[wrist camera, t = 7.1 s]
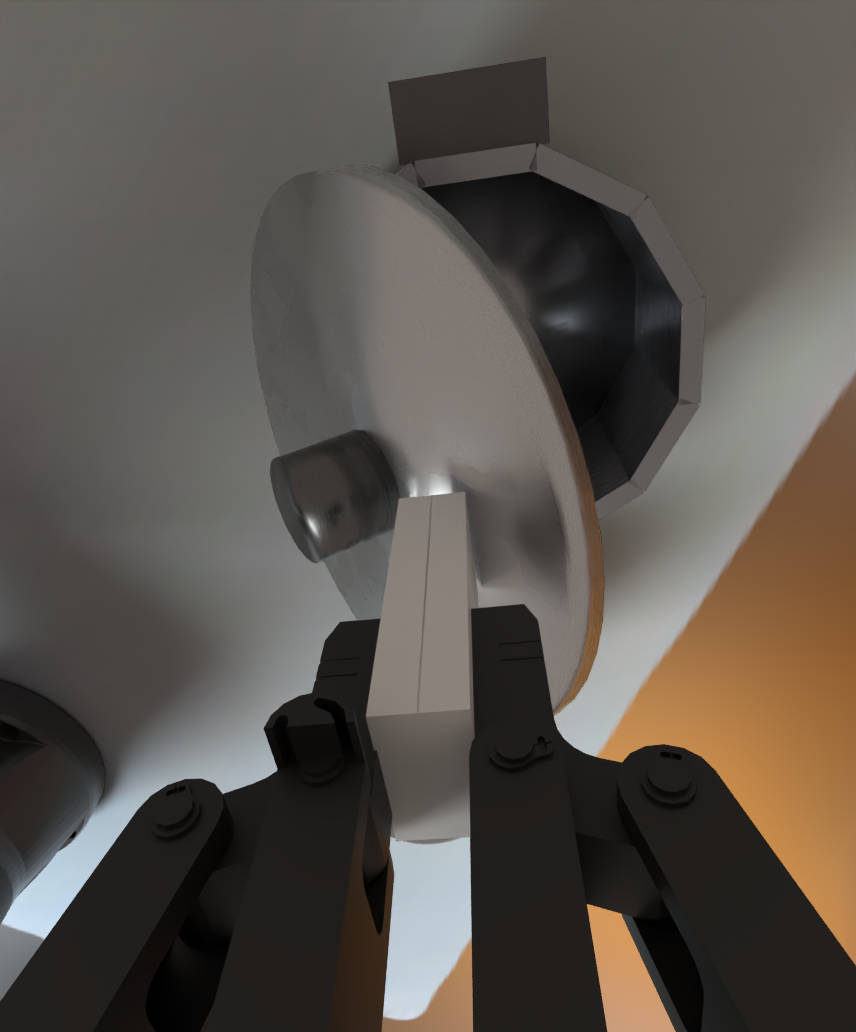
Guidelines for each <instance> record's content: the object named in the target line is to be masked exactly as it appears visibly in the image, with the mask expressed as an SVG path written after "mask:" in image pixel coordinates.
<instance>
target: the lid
mask: <svg viewBox="0 0 856 1032" xmlns="http://www.w3.org/2000/svg"><path fill="white" fill-rule="evenodd" d="M251 313H252V325H253V337H254V344H255V351H256V358H257V365H258V370H259V375H260V380H261V385H262V390H263V395H264V399H265V403H266V407H267V411H268V416H269V419H270V423H271V426H272V430H273V433H274V437H275V440H276V444H277V447H278V450H279V453H280V457H277V458H274V459H273V460H272V462H271V466H270V475H271V482H272V487H273V491H274V495H275V499H276V502H277V505H278V508H279V510H280V513H281V515H282V518H283V520H284V522H285V525H286V527H287V529H288V531H289V533H290V534H291V536H292V538H293V540H294V542H295V543H296V545H297V546H298V548H299V549H300V550H301V552H302V553H303V554H304V555H305V556H306V557H307V558H308V559H309V560H310V561H312V562H314V563H318V562H321V561H324V563H325V565H326V567H327V568H328V570H329V572H330V574H331V576H332V578H333V580H334V581H335V583H336V585H337V587H338V589H339V591H340V592H341V594H342V596H343V597H344V599H345V601H346V602H347V604H348V606H349V607H350V609H351V611H352V612H353V614H354V615H355V617H356V618H357V620H369V619H380V618H381V613H382V606H383V600H384V593H385V587H386V580H387V574H388V567H389V560H390V554H391V547H392V541H393V534H394V527H395V521H396V514H397V508H398V501H399V499H400V498H409V497H419V496H428V495H438V494H447V493H457V492H465V494H466V502H467V510H468V518H469V526H470V534H471V542H472V550H473V558H474V566H475V574H476V581H477V589H478V606H479V608H484V607H496V606H507V605H518V604H525V606H526V607H527V608H528V609H529V610H530V611H531V613H532V614H533V615H534V616H535V617H536V618H537V619H538V622H539V629H540V635H541V642H542V647H543V654H544V660H545V666H546V672H547V678H548V685H549V691H550V697H551V703H552V710H553V716H554V715H556V714H557V713H559V712H560V711H561V710H563V709H564V708H565V707H566V706H567V705H568V704H569V703H571V702H572V701H573V700H574V699H575V698H576V696H577V694H578V693H579V691H580V690H581V688H582V687H583V685H584V684H585V682H586V681H587V679H588V676H589V673H590V671H591V668H592V665H593V663H594V660H595V657H596V655H597V650H598V645H599V639H600V634H601V628H602V623H603V606H604V582H605V581H604V568H603V555H602V541H601V533H600V527H599V522H598V516H597V510H596V505H595V499H594V493H593V488H592V484H591V480H590V477H589V473H588V469H587V466H586V462H585V458H584V454H583V451H582V447H581V443H580V440H579V436H578V433H577V431H576V428H575V425H574V422H573V420H572V417H571V414H570V411H569V409H568V406H567V403H566V400H565V398H564V395H563V392H562V389H561V387H560V384H559V382H558V380H557V378H556V375H555V373H554V371H553V369H552V367H551V365H550V362H549V360H548V358H547V356H546V354H545V352H544V349H543V347H542V345H541V343H540V341H539V339H538V336H537V334H536V333H535V331H534V329H533V327H532V326H531V324H530V322H529V320H528V319H527V317H526V315H525V313H524V312H523V310H522V308H521V306H520V305H519V303H518V301H517V299H516V298H515V296H514V294H513V293H512V291H511V289H510V288H509V286H508V285H507V283H506V282H505V280H504V279H503V278H502V276H501V275H500V273H499V272H498V271H497V269H496V268H495V266H494V265H493V264H492V262H491V261H490V259H489V258H488V256H487V255H486V254H485V252H484V251H483V249H482V248H481V247H480V246H479V245H478V244H477V243H476V241H475V240H474V239H473V238H472V237H471V236H470V235H469V234H468V232H467V231H466V230H465V229H464V228H463V227H462V226H461V224H460V223H459V222H458V221H457V220H456V219H455V218H454V217H453V216H452V215H451V214H450V213H449V212H448V211H447V210H445V209H444V208H443V207H442V206H441V205H440V204H438V203H437V202H436V201H435V200H434V199H433V198H432V197H430V196H429V195H428V194H427V193H426V192H425V191H423V190H421V189H420V188H418V187H416V186H415V185H413V184H411V183H410V182H408V181H407V180H405V179H403V178H402V177H400V176H398V175H396V174H393V173H390V172H387V171H385V170H382V169H379V168H376V167H373V166H359V165H348V166H343V167H337V168H331V169H326V170H320V171H314V172H310V173H306V174H302V175H298V176H295V177H294V178H292V179H291V180H289V181H288V182H286V183H285V184H283V185H282V186H281V187H280V188H279V190H278V191H277V192H276V193H275V195H274V196H273V197H272V198H271V200H270V201H269V203H268V206H267V208H266V210H265V212H264V214H263V216H262V218H261V222H260V225H259V229H258V232H257V236H256V240H255V246H254V252H253V259H252V272H251Z"/></svg>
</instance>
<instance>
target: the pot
mask: <svg viewBox="0 0 856 1032" xmlns="http://www.w3.org/2000/svg"><path fill="white" fill-rule="evenodd" d="M388 84H389V91H390V99H391V106H392V113H393V120H394V127H395V135H396V142H397V149H398V156H399V163H400V165H405V164H406V165H405V166H404V167H403V168H401V169H400V170H399V171H398V172H397V173H396V175H398V176H400V177H402V178H403V179H405V180H407V181H408V182H410V183H411V184H413V185H415V186H416V187H418V188H420V189H421V190H423V191H425V192H426V193H427V194H428V195H429V196H430V197H432V198H433V199H434V200H435V201H436V202H437V203H438V204H440V205H441V206H442V207H443V208H444V209H445V210H447V211H448V212H449V213H450V214H451V215H452V216H453V217H454V218H455V219H456V220H457V221H458V222H459V223H460V224H461V226H462V227H463V228H464V229H465V230H466V231H467V232H468V234H469V235H470V236H471V237H472V238H473V239H474V240H475V241H476V243H477V244H478V245H479V246H480V247H481V248H482V249H483V251H484V252H485V254H486V255H487V256H488V258H489V259H490V261H491V262H492V264H493V265H494V266H495V268H496V269H497V271H498V272H499V273H500V275H501V276H502V278H503V279H504V280H505V282H506V283H507V285H508V286H509V288H510V289H511V291H512V293H513V294H514V296H515V298H516V299H517V301H518V303H519V305H520V306H521V308H522V310H523V312H524V313H525V315H526V317H527V319H528V320H529V322H530V324H531V326H532V327H533V329H534V331H535V333H536V334H537V336H538V339H539V341H540V343H541V345H542V347H543V349H544V352H545V354H546V356H547V358H548V360H549V362H550V365H551V367H552V369H553V371H554V373H555V375H556V378H557V380H558V382H559V384H560V387H561V389H562V392H563V395H564V398H565V400H566V403H567V406H568V409H569V411H570V414H571V417H572V420H573V422H574V425H575V428H576V431H577V433H578V436H579V440H580V443H581V447H582V451H583V454H584V458H585V462H586V466H587V469H588V473H589V477H590V480H591V484H592V488H593V493H594V499H595V505H596V510H597V516H598V520H599V519H601V518H603V517H604V516H606V515H608V514H609V513H611V512H613V511H614V510H616V509H618V508H619V507H621V506H623V505H624V504H626V503H628V502H629V501H631V500H633V499H634V498H636V497H638V496H639V495H641V494H643V492H642V490H644V491H646V489H647V488H648V486H649V485H650V483H651V481H652V480H653V478H654V477H655V475H656V473H657V472H658V470H659V469H660V467H661V466H662V464H663V462H664V461H665V459H666V458H667V456H668V455H669V453H670V451H671V450H672V448H673V447H674V445H675V444H676V442H677V440H678V439H679V437H680V436H681V434H682V432H683V431H684V429H685V428H686V426H687V425H688V423H689V421H690V420H691V418H692V417H693V415H694V414H695V412H696V410H697V409H698V407H699V405H698V404H697V403H700V400H701V381H702V362H703V343H704V324H705V305H706V297H705V296H703V295H705V293H704V291H703V289H702V288H701V286H700V284H699V282H698V281H697V279H696V277H695V275H694V274H693V272H692V270H691V268H690V267H689V265H688V263H687V261H686V260H685V258H684V256H683V254H682V253H681V251H680V249H679V247H678V246H677V244H676V242H675V240H674V239H673V237H672V235H671V234H670V232H669V230H668V228H667V227H666V225H665V223H664V221H663V220H662V218H661V216H660V214H659V213H658V211H657V209H656V207H655V206H654V204H653V202H652V200H651V199H650V197H649V196H646V195H647V194H645V193H643V192H641V191H639V190H637V189H634V188H632V187H630V186H628V185H626V184H624V183H622V182H620V181H618V180H616V179H613V178H611V177H609V176H607V175H605V174H603V173H601V172H599V171H597V170H595V169H592V168H590V167H588V166H586V165H584V164H582V163H580V162H578V161H576V160H574V159H571V158H569V157H567V156H565V155H563V154H561V153H559V152H557V151H555V150H553V149H550V148H548V147H546V146H544V145H542V144H544V143H550V141H549V120H548V98H547V77H546V57H543V58H536V59H530V60H524V61H518V62H511V63H505V64H499V65H493V66H487V67H480V68H474V69H468V70H462V71H456V72H449V73H443V74H437V75H431V76H424V77H418V78H412V79H406V80H400V81H393V82H388ZM255 353H256V352H255ZM641 489H642V490H641Z"/></svg>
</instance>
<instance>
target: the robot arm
mask: <svg viewBox="0 0 856 1032" xmlns="http://www.w3.org/2000/svg"><path fill="white" fill-rule="evenodd" d="M264 731H265V734H266V736H267V739H268V742H269V745H270V748H271V751H272V754H273V757H274V760H275V763H276V765H277V768H278V769H277V771H276V772H275V773H273V774H272V775H270V776H269V777H267V778H265V779H263V780H261V781H258V782H256V783H254V784H251V785H248V786H245V787H242V788H239V789H236V790H233V791H230V792H228V793H225V794H222V793H221V791H220V790H219V789H218V788H217V786H216V785H215V784H214V783H211V782H209V781H206V780H204V779H184V780H181V781H178V782H176V783H173V784H170V785H167V786H166V787H164V788H162V789H161V790H159V791H158V792H156V793H155V794H153V795H151V796H150V797H149V798H148V800H147V801H146V802H145V803H144V804H143V805H142V806H141V807H140V808H139V809H138V810H137V812H136V813H135V814H134V816H133V817H132V819H131V820H130V821H129V823H128V824H127V826H126V827H125V828H124V830H123V831H122V833H121V834H120V835H119V837H118V838H117V839H116V841H115V842H114V844H113V845H112V846H111V848H110V849H109V851H108V852H107V853H106V855H105V856H104V858H103V859H102V860H101V862H100V863H99V865H98V866H97V867H96V869H95V870H94V872H93V873H92V874H91V876H90V877H89V879H88V880H87V881H86V883H85V884H84V885H83V887H82V888H81V890H80V891H79V892H78V894H77V895H76V897H75V898H74V899H73V901H72V902H71V904H70V905H69V906H68V908H67V909H66V911H65V912H64V913H63V915H62V916H61V918H60V919H59V920H58V922H57V923H56V925H55V926H54V927H53V929H52V930H51V931H50V933H49V934H48V936H47V937H46V938H45V940H44V941H43V943H42V944H41V945H40V947H39V948H38V950H37V951H36V952H35V954H34V955H33V957H32V958H31V959H30V961H29V962H28V964H27V965H26V967H25V968H24V969H23V971H22V972H21V973H20V975H19V976H18V977H17V979H16V980H15V982H14V983H13V984H12V986H11V987H10V989H9V990H8V991H7V993H6V994H5V996H4V997H3V999H2V1000H1V1001H0V1032H382V1018H383V1007H384V994H385V982H386V970H387V957H388V945H389V932H390V920H391V908H392V895H393V883H394V870H393V862H392V858H391V854H390V850H389V847H390V836H391V825H392V826H393V830H394V834H395V838H396V841H408V840H426V839H445V838H462V837H470V853H471V917H472V978H473V1032H607V1028H606V1021H605V1015H604V1008H603V1003H602V996H601V990H600V984H599V977H598V971H597V966H596V959H595V953H594V946H593V940H592V935H591V928H590V922H589V915H588V910H587V904H590V905H593V906H597V907H600V908H604V909H607V910H611V911H615V912H618V913H621V914H622V916H623V919H624V921H625V923H626V925H627V927H628V930H629V932H630V934H631V936H632V938H633V940H634V942H635V945H636V947H637V949H638V951H639V953H640V956H641V958H642V960H643V962H644V964H645V966H646V968H647V971H648V973H649V975H650V977H651V979H652V981H653V984H654V986H655V987H656V990H657V992H658V994H659V997H660V999H661V1001H662V1003H663V1005H664V1007H665V1010H666V1012H667V1014H668V1016H669V1018H670V1020H671V1023H672V1025H673V1027H674V1029H675V1031H676V1032H856V966H855V964H854V963H853V961H852V960H851V959H850V957H849V956H848V954H847V953H846V952H845V950H844V949H843V947H842V946H841V945H840V943H839V942H838V941H837V939H836V938H835V936H834V935H833V933H832V932H831V931H830V929H829V928H828V927H827V925H826V924H825V922H824V921H823V920H822V918H821V917H820V916H819V914H818V913H817V911H816V910H815V908H814V907H813V906H812V904H811V903H810V901H809V900H808V899H807V897H806V896H805V895H804V893H803V892H802V890H801V889H800V888H799V886H798V885H797V883H796V882H795V881H794V879H793V878H792V877H791V875H790V874H789V872H788V871H787V869H786V868H785V867H784V865H783V864H782V863H781V861H780V860H779V858H778V857H777V856H776V854H775V853H774V852H773V850H772V849H771V847H770V846H769V844H768V843H767V842H766V840H765V839H764V838H763V836H762V835H761V833H760V832H759V831H758V829H757V828H756V826H755V825H754V824H753V822H752V821H751V819H750V818H749V817H748V815H747V814H746V812H745V811H744V810H743V808H742V807H741V806H740V804H739V803H738V801H737V800H736V799H735V798H734V796H733V794H732V793H731V792H730V790H729V789H728V788H727V786H726V785H725V783H724V782H723V780H722V779H721V778H720V776H719V775H718V774H717V772H716V771H715V770H714V769H713V768H712V767H711V766H710V765H709V764H708V763H707V762H706V761H705V760H704V759H703V758H702V757H700V756H698V755H696V754H694V753H692V752H690V751H688V750H686V749H684V748H681V747H675V746H670V745H665V744H663V745H653V746H645V747H643V748H641V749H638V750H636V751H634V752H632V753H630V754H629V755H628V756H627V758H626V759H625V760H624V761H623V762H622V763H621V762H616V761H611V760H606V759H602V758H598V757H594V756H591V755H588V754H585V753H583V752H581V751H580V750H578V749H576V748H574V747H573V746H572V745H570V744H569V743H568V742H567V741H566V740H565V739H564V738H563V737H562V735H561V734H560V733H559V731H558V730H557V727H556V724H555V721H554V716H553V710H552V703H551V697H550V691H549V685H548V678H547V672H546V666H545V660H544V654H543V647H542V642H541V635H540V629H539V622H538V619H537V618H536V617H535V616H534V615H533V614H532V613H531V611H530V610H529V609H528V608H527V607H526V606H525V604H518V605H507V606H496V607H484V608H479V606H478V589H477V581H476V574H475V566H474V558H473V550H472V542H471V534H470V526H469V518H468V510H467V502H466V494H465V492H457V493H447V494H438V495H428V496H419V497H409V498H400V499H399V501H398V508H397V514H396V521H395V527H394V534H393V541H392V547H391V554H390V560H389V567H388V574H387V580H386V587H385V593H384V600H383V606H382V613H381V618H380V619H369V620H358V621H347V622H340V623H339V624H338V625H337V627H336V628H335V629H334V630H333V632H332V633H331V634H330V635H329V636H328V638H327V639H326V640H325V643H324V647H323V651H322V655H321V659H320V664H319V667H318V671H317V675H316V681H315V683H314V687H313V691H312V693H310V694H306V695H301V696H298V697H296V698H294V699H292V700H290V701H288V702H286V703H285V704H283V705H282V706H281V707H280V708H279V709H278V710H276V711H275V712H274V713H273V714H272V715H271V716H270V718H269V720H268V722H267V724H266V725H265V727H264ZM104 785H105V772H104V766H103V762H102V759H101V756H100V754H99V752H98V750H97V748H96V746H95V745H94V743H93V742H92V740H91V739H90V737H89V736H88V735H87V733H86V732H85V731H84V730H83V729H82V728H81V727H80V726H79V725H78V724H77V723H76V722H75V721H74V720H73V719H72V718H71V717H70V716H69V715H67V714H66V713H65V712H63V711H62V710H61V709H59V708H58V707H57V706H55V705H54V704H52V703H50V702H49V701H47V700H45V699H44V698H42V697H40V696H38V695H36V694H34V693H32V692H30V691H28V690H25V689H23V688H21V687H18V686H15V685H13V684H9V683H6V682H3V681H0V925H1V923H2V921H3V919H4V918H5V916H6V914H7V912H8V911H9V909H10V907H11V905H12V904H13V902H14V900H15V898H16V897H17V896H18V895H19V894H20V893H21V892H22V891H23V890H24V889H25V888H26V887H27V886H28V885H29V884H30V883H31V882H32V881H33V880H34V879H35V878H36V877H37V876H38V874H39V873H40V872H41V871H42V870H43V869H44V868H45V867H46V866H47V865H48V863H49V862H50V861H51V860H52V858H53V857H54V856H55V854H56V853H57V852H58V851H60V850H61V849H63V848H64V847H66V846H67V845H69V844H70V843H71V842H72V841H73V840H74V839H75V838H76V837H77V836H78V835H79V834H80V833H81V831H82V830H83V829H84V827H85V826H86V824H87V823H88V821H89V819H90V817H91V815H92V813H93V811H94V810H95V808H96V806H97V804H98V802H99V800H100V798H101V796H102V793H103V790H104Z"/></svg>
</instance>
